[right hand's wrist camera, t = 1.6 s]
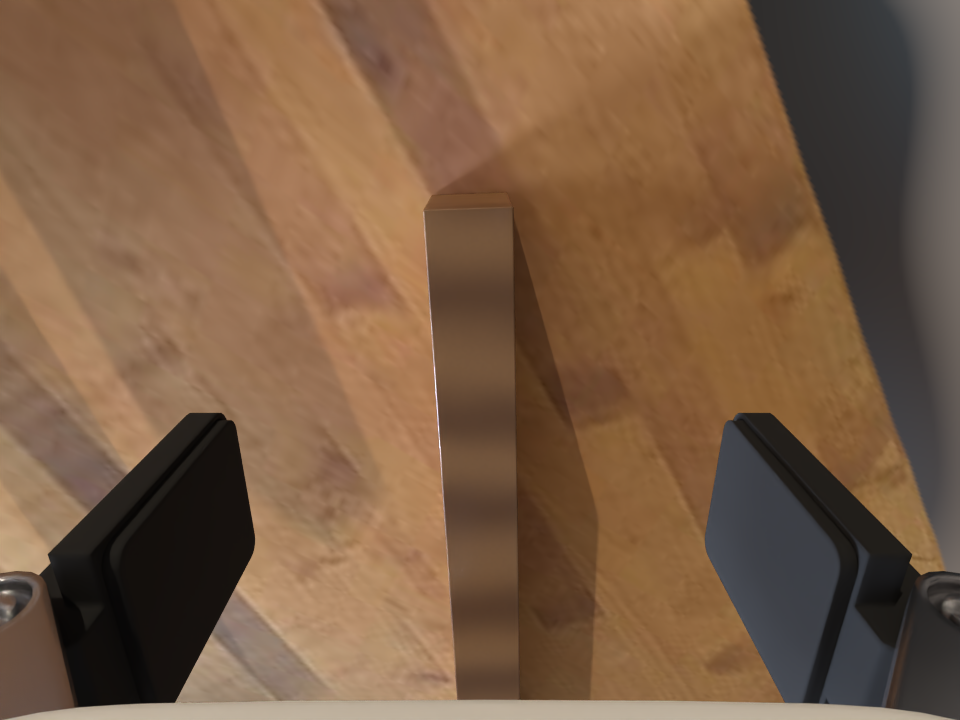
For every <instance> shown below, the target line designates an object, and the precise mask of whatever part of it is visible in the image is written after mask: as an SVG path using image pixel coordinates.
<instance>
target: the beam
mask: <svg viewBox="0 0 960 720" xmlns="http://www.w3.org/2000/svg"><path fill="white" fill-rule="evenodd" d="M423 219H424V233H425V247H426V262H427V276H428V290H429V305H430V319H431V333H432V347H433V362H434V376H435V390H436V405H437V419H438V433H439V448H440V462H441V476H442V491H443V505H444V519H445V534H446V548H447V562H448V577H449V591H450V605H451V619H452V634H453V648H454V662H455V677H456V691H457V700H520V664H519V590H518V516H517V442H516V368H515V294H514V220H513V206H512V204H511V201H510V199H509V197H508V194H507V193H506V192H505V193H478V194H451V195H432V196H431V198H430V199H429V201H428V203H427V205H426V206H425V208H424V210H423Z"/></svg>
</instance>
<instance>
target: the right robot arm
mask: <svg viewBox="0 0 960 720" xmlns="http://www.w3.org/2000/svg"><path fill="white" fill-rule="evenodd" d="M254 546H255V534H254V528H253V522H252V516H251V511H250V505H249V499H248V493H247V488H246V482H245V476H244V470H243V465H242V459H241V453H240V447H239V442H238V436H237V430H236V426H235V424H234V422H233V421H232V420H226V418H225V416H224V415H223V414H222V413H189V414H188V415H186V416H185V417H184V418H183V419H182V420H181V421H180V422H179V423H178V424H177V425H176V426H175V427H174V428H173V429H172V430H171V431H170V432H169V433H168V434H167V435H166V436H165V437H164V438H163V439H162V440H161V441H160V442H159V443H158V444H157V445H156V446H155V447H154V448H153V449H152V450H151V451H150V452H149V454H148V455H147V456H146V457H145V458H144V459H143V460H142V461H141V462H140V463H139V464H138V465H137V466H136V467H135V468H134V469H133V470H132V471H131V472H130V473H129V474H128V475H127V476H126V477H125V478H124V479H123V480H122V481H121V482H120V483H119V484H118V485H117V486H116V487H115V488H114V489H113V490H112V491H111V492H110V493H109V494H108V495H107V496H106V497H105V498H104V499H103V500H102V501H101V502H100V503H99V504H98V505H97V506H96V507H95V508H94V509H93V510H92V511H91V512H90V513H89V514H88V515H87V516H86V517H85V518H84V519H83V520H82V521H81V522H80V523H79V524H78V525H77V526H76V527H75V528H74V529H73V530H72V531H71V532H70V533H69V534H68V535H67V536H66V537H65V538H64V539H63V540H62V541H61V542H60V543H59V544H58V545H57V546H56V547H55V548H54V549H53V550H52V551H51V552H50V553H49V554H48V556H49V559H50V562H51V563H50V565H49V566H48V567H47V568H46V569H45V570H44V571H43V572H42V573H41V574H40V575H37V574H35V573H32V572H22V571H14V572H7V573H0V720H960V573H953V572H946V571H938V572H928V573H925V574H923V575H920V574H919V573H918V572H917V571H916V570H915V569H914V568H913V567H912V566H911V565H910V564H909V562H910V559H911V556H912V554H911V553H910V552H909V551H908V550H907V549H906V548H905V547H904V546H903V545H902V544H901V543H900V542H899V541H898V540H897V539H896V538H895V537H894V536H893V535H892V534H891V533H890V532H889V531H888V530H887V529H886V528H885V527H884V526H883V525H882V524H881V523H880V522H879V521H878V520H877V519H876V518H875V517H874V516H873V515H872V514H871V513H870V512H869V511H868V510H867V509H866V508H865V507H864V506H863V505H862V504H861V503H860V502H859V501H858V500H857V499H856V498H855V497H854V496H853V495H852V494H851V493H850V492H849V491H848V490H847V489H846V488H845V487H844V486H843V485H842V484H841V483H840V482H839V481H838V480H837V479H836V478H835V477H834V476H833V475H832V474H831V473H830V472H829V471H828V470H827V469H826V468H825V467H824V466H823V465H822V464H821V463H820V462H819V461H818V460H817V459H816V458H815V457H814V456H813V455H812V454H811V453H810V451H809V450H808V449H807V448H806V447H805V446H804V445H803V444H802V443H801V442H800V441H799V440H798V439H797V438H796V437H795V436H794V435H793V434H792V433H791V432H790V431H789V430H788V429H787V428H786V427H785V426H784V425H783V424H782V423H781V422H780V421H779V420H778V419H777V418H776V417H775V416H774V415H772V414H771V413H738V414H737V415H736V416H735V418H734V420H728V421H727V422H726V424H725V426H724V430H723V436H722V442H721V447H720V453H719V459H718V465H717V470H716V476H715V482H714V488H713V493H712V499H711V505H710V511H709V516H708V522H707V528H706V534H705V546H706V551H707V554H708V557H709V559H710V561H711V562H712V564H713V566H714V568H715V570H716V572H717V574H718V576H719V578H720V580H721V582H722V583H723V585H724V587H725V589H726V591H727V593H728V595H729V597H730V599H731V601H732V602H733V604H734V606H735V608H736V610H737V612H738V614H739V616H740V618H741V620H742V622H743V623H744V625H745V627H746V629H747V631H748V633H749V635H750V637H751V639H752V641H753V642H754V644H755V646H756V648H757V650H758V652H759V654H760V656H761V658H762V660H763V662H764V663H765V665H766V667H767V669H768V671H769V673H770V675H771V677H772V679H773V681H774V682H775V684H776V686H777V688H778V690H779V692H780V694H781V696H782V698H783V700H784V702H785V703H761V702H711V701H626V700H335V701H249V702H199V703H175V702H176V700H177V698H178V696H179V694H180V692H181V690H182V688H183V686H184V684H185V682H186V681H187V679H188V677H189V675H190V673H191V671H192V669H193V667H194V665H195V663H196V662H197V660H198V658H199V656H200V654H201V652H202V650H203V648H204V646H205V644H206V642H207V641H208V639H209V637H210V635H211V633H212V631H213V629H214V627H215V625H216V623H217V622H218V620H219V618H220V616H221V614H222V612H223V610H224V608H225V606H226V604H227V602H228V601H229V599H230V597H231V595H232V593H233V591H234V589H235V587H236V585H237V583H238V582H239V580H240V578H241V576H242V574H243V572H244V570H245V568H246V566H247V564H248V562H249V561H250V559H251V557H252V554H253V551H254Z"/></svg>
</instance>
